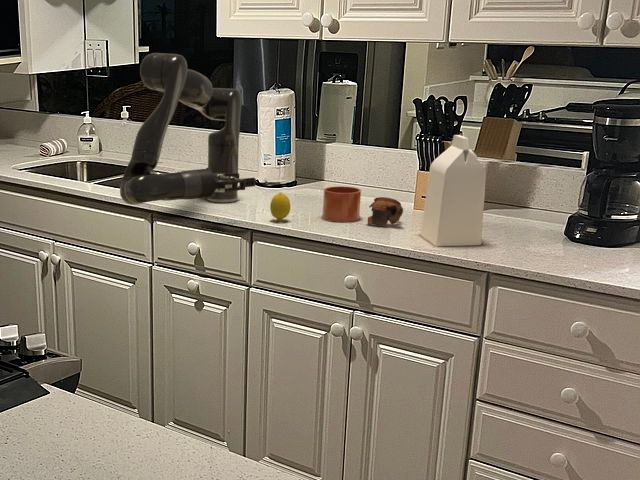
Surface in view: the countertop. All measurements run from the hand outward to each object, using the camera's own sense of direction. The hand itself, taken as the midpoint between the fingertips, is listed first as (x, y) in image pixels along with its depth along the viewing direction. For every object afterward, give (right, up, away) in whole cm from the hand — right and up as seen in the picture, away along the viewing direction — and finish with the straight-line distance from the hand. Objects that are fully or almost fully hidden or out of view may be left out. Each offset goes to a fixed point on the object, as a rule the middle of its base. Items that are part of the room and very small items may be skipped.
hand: (246, 179), depth 252 cm
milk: (+51, -18, -12) cm, 56 cm away
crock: (+28, -9, +12) cm, 31 cm away
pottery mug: (+39, -12, +5) cm, 41 cm away
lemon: (+10, -10, +9) cm, 17 cm away
